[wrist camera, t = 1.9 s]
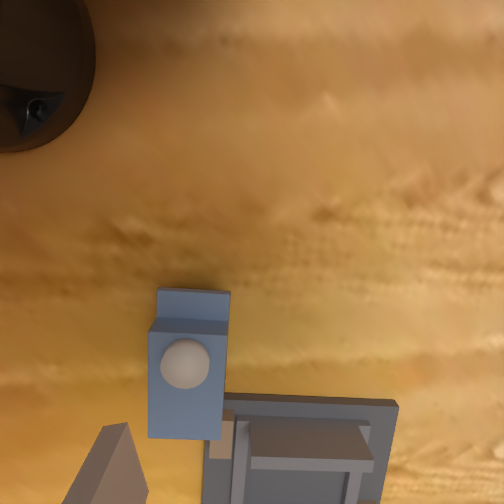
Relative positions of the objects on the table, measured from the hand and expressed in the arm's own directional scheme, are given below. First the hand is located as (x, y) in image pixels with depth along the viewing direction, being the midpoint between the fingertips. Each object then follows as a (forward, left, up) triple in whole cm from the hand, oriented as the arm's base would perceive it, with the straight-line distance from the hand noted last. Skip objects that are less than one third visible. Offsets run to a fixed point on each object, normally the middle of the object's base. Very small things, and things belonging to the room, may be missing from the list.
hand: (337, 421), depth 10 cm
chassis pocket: (+4, -21, -19) cm, 28 cm away
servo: (-6, -7, -19) cm, 21 cm away
